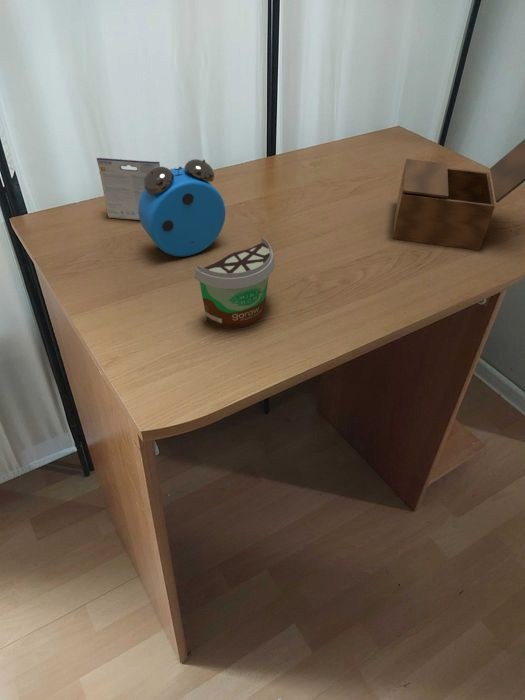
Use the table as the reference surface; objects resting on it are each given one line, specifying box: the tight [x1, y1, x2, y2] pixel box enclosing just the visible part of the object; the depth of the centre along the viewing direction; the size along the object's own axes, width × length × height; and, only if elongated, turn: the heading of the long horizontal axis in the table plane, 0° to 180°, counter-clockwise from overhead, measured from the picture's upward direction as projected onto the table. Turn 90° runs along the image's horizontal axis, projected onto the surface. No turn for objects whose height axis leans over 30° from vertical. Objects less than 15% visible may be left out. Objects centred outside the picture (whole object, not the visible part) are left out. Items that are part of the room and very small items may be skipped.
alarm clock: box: [139, 158, 226, 257], centre depth 87 cm, size 13×6×15 cm, turn 119°
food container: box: [194, 236, 276, 329], centre depth 75 cm, size 12×6×10 cm, turn 129°
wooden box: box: [392, 158, 496, 251], centre depth 96 cm, size 15×13×9 cm
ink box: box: [96, 157, 161, 221], centre depth 95 cm, size 12×2×12 cm, turn 82°
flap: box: [489, 138, 525, 204], centre depth 89 cm, size 7×13×1 cm
